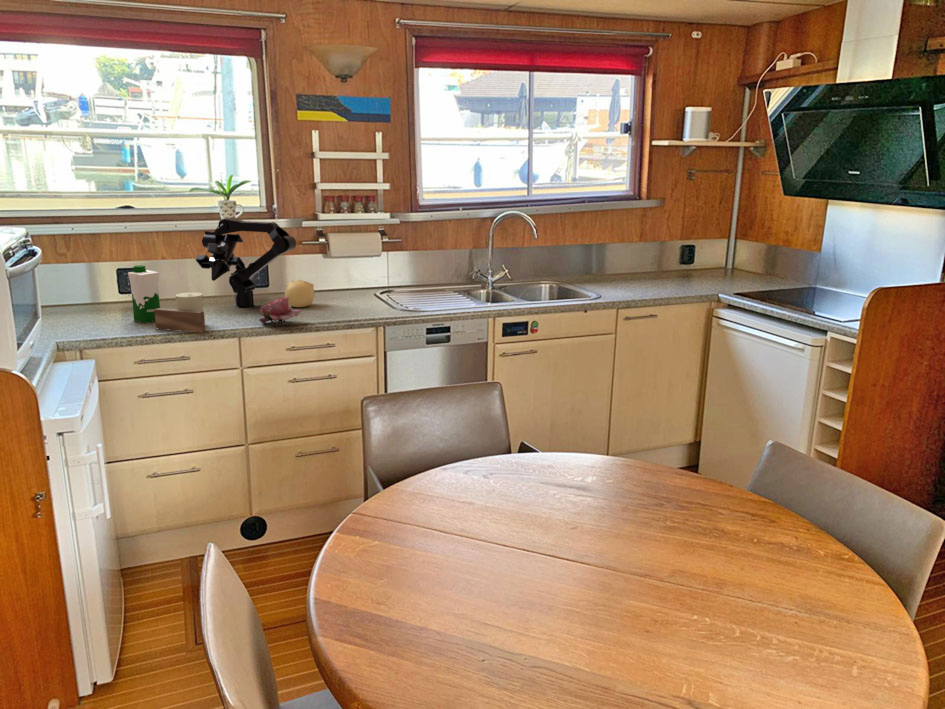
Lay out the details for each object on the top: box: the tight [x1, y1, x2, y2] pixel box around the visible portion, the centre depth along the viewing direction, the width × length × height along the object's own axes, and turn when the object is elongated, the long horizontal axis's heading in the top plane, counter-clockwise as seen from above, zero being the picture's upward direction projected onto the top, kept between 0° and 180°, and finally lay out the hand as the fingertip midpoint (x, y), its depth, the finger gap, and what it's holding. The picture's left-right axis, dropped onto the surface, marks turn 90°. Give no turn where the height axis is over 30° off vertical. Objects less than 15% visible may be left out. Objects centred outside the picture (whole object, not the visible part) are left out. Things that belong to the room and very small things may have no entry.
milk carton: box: [127, 264, 161, 324], centre depth 282 cm, size 9×9×20 cm
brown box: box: [154, 307, 206, 333], centre depth 270 cm, size 3×18×7 cm, turn 76°
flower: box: [259, 296, 302, 327], centre depth 280 cm, size 15×15×10 cm
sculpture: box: [284, 279, 315, 308], centre depth 312 cm, size 12×12×11 cm
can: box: [175, 291, 204, 311], centre depth 275 cm, size 9×9×12 cm
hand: (212, 280), depth 297 cm, fingers closed
